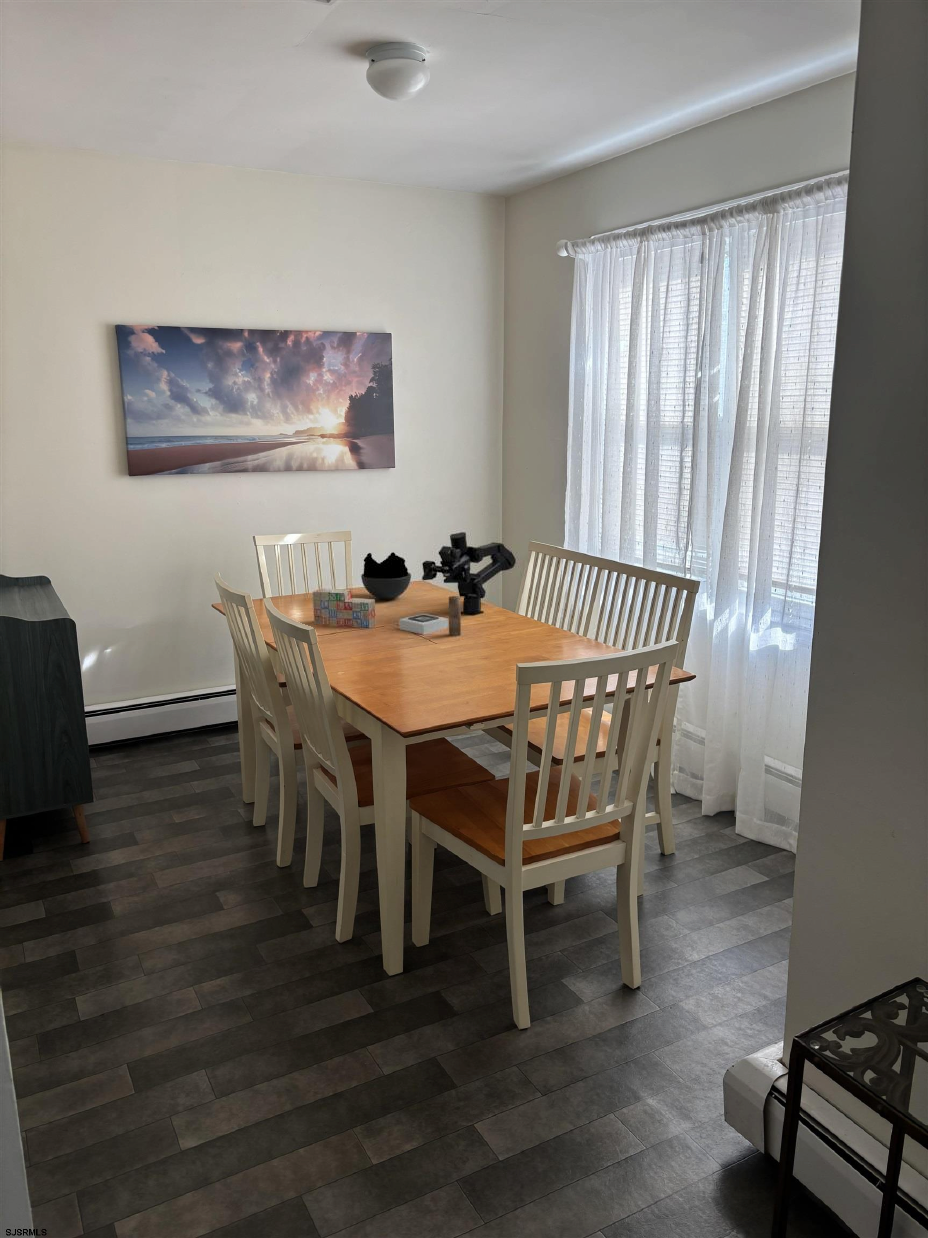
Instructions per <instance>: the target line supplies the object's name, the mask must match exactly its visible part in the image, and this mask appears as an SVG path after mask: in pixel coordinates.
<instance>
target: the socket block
mask: <svg viewBox="0 0 928 1238" xmlns="http://www.w3.org/2000/svg"><path fill="white" fill-rule="evenodd" d="M398 620H399V621H398V623H399V624H398V625H399V626H398V628H399V630H401V631H402V630H403V631H406V632H411V633H415V634H420V635H427V634H431V633H434V632H435V633H436V632H439V631H443V630H446V629H449V618H447V617H442V616H437V615H432V614H427V613H421V614H417V615H411V616H407V617H404V618H399V619H398Z"/></svg>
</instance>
